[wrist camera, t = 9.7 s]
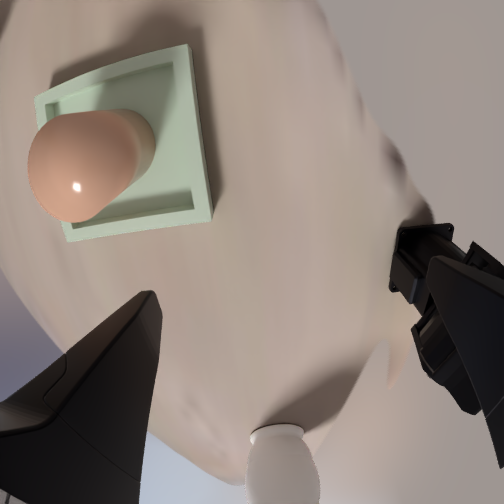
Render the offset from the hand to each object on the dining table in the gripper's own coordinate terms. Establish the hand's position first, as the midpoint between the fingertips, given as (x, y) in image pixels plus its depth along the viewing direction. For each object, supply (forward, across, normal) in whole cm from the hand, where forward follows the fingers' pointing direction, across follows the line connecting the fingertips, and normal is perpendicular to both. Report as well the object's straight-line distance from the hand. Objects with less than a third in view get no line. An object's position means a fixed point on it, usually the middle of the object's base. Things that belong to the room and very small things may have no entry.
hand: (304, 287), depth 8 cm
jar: (+13, +1, +38) cm, 40 cm away
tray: (+13, +10, -4) cm, 17 cm away
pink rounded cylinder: (+12, +10, -4) cm, 16 cm away
